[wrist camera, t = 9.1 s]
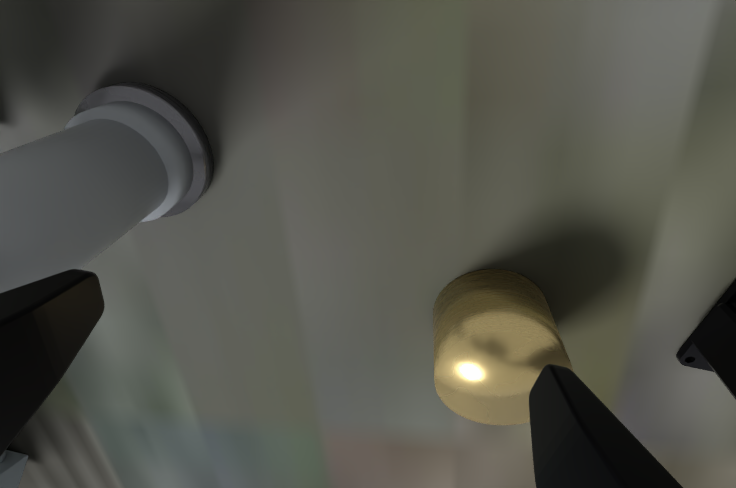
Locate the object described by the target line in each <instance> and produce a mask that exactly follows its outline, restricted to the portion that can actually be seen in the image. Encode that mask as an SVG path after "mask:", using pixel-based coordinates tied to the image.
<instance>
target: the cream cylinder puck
mask: <svg viewBox="0 0 736 488" xmlns="http://www.w3.org/2000/svg"><path fill="white" fill-rule="evenodd" d="M433 332H434V381H435V388H436V391H437V393H438V395H439V397H440V399H441V400H442V401H443V403H444V404H445V405H446V406H447V407H448V408H450V409H451V410H452V411H454V412H455V413H457V414H458V415H460V416H462V417H465V418H467V419H469V420H472V421H476V422H479V423H484V424H490V425H515V424H521V423H526V422H530V413H529V394H530V391H531V388H532V387H533V385H534V383H535V381H536V380H537V378H538V376H539V374H540V373H541V371H542V369H543V368H544V366H546V365H547V364H553V365H558V366H563V367H567V368H569V369H570V370H572V371H573V369H572V365H571V363H570V360H569V358H568V355H567V353H566V350H565V348H564V345H563V342H562V340H561V337H560V335H559V332H558V330H557V327H556V324H555V322H554V319H553V317H552V314H551V312H550V309H549V307H548V304H547V301H546V299H545V297H544V295H543V293H542V291H541V290H540V288H539V287H538V286H537V285H536V284H535V283H534V282H532V281H531V280H530V279H528V278H526V277H525V276H523V275H520V274H518V273H515V272H512V271H508V270H501V269H484V270H478V271H474V272H470V273H467V274H465V275H462V276H460V277H458V278H456V279H455V280H453V281H452V282H450V283H449V284H448V285H447V286H446V287H445V288H444V289H443V290H442V291H441V292H440V294H439V296H438V297H437V299H436V302H435V305H434V309H433Z"/></svg>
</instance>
